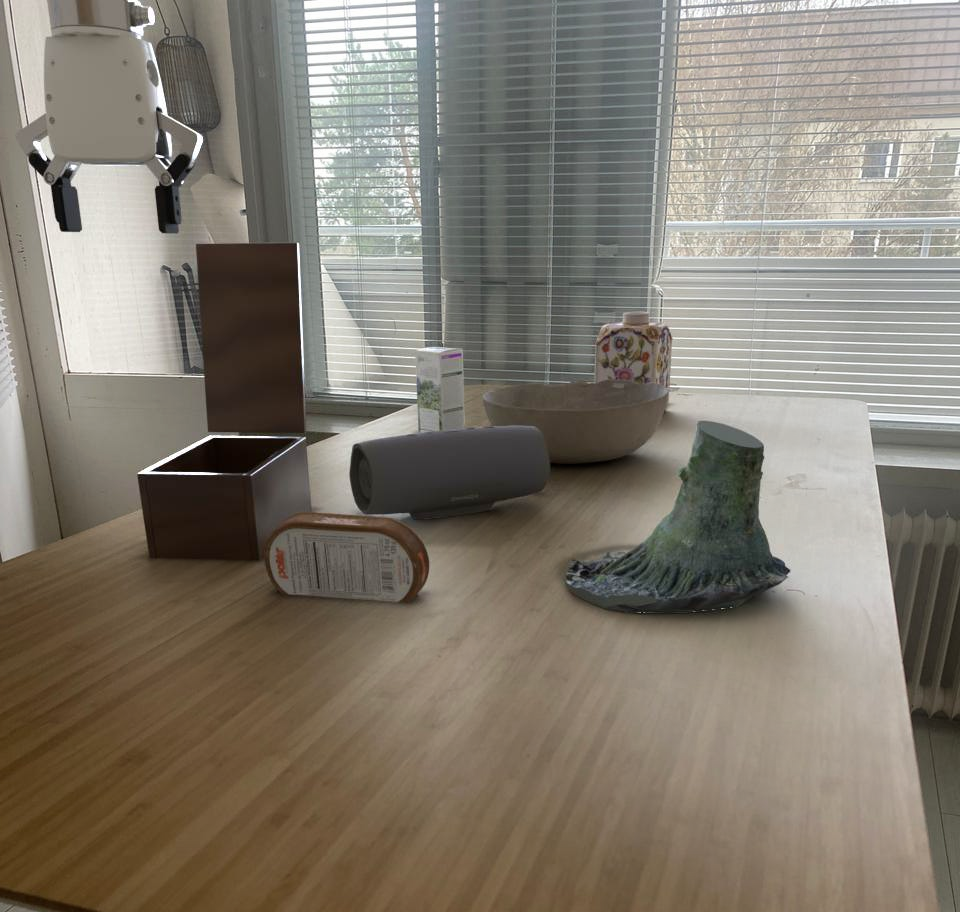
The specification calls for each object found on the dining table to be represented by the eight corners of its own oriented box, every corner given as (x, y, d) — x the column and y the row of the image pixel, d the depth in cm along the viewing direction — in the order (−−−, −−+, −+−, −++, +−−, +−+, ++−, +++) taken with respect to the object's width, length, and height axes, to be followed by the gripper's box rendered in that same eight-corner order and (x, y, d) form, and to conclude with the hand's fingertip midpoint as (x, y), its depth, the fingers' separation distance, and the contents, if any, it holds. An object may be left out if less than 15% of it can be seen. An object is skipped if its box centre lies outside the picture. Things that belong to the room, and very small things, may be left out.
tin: (431, 606, 89) (429, 515, 85) (422, 618, 86) (418, 525, 82) (278, 594, 92) (269, 507, 88) (264, 606, 89) (254, 516, 86)
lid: (297, 242, 107) (310, 248, 112) (195, 243, 108) (212, 249, 113) (304, 433, 112) (317, 431, 117) (207, 432, 113) (223, 430, 118)
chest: (260, 571, 98) (250, 475, 95) (150, 568, 100) (136, 473, 96) (312, 519, 116) (306, 436, 113) (218, 517, 118) (209, 435, 114)
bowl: (687, 446, 154) (691, 381, 150) (628, 483, 131) (632, 408, 127) (529, 433, 165) (529, 372, 162) (450, 465, 143) (448, 396, 139)
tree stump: (601, 549, 105) (652, 386, 97) (779, 620, 99) (849, 451, 91) (532, 593, 90) (586, 403, 82) (737, 681, 83) (817, 483, 75)
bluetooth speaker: (516, 493, 127) (517, 415, 123) (551, 509, 119) (553, 427, 115) (350, 515, 118) (344, 432, 114) (376, 534, 110) (371, 445, 106)
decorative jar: (669, 410, 186) (675, 310, 179) (654, 420, 176) (659, 315, 169) (609, 406, 190) (613, 309, 183) (590, 416, 180) (593, 314, 173)
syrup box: (466, 438, 162) (464, 347, 156) (441, 443, 158) (439, 351, 152) (441, 434, 165) (439, 345, 160) (416, 439, 161) (413, 348, 156)
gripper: (205, 30, 89) (222, 234, 95) (24, 31, 90) (52, 231, 97) (173, 12, 82) (193, 233, 88) (-23, 14, 83) (12, 231, 90)
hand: (120, 232), depth 92 cm, fingers open, 9 cm apart
